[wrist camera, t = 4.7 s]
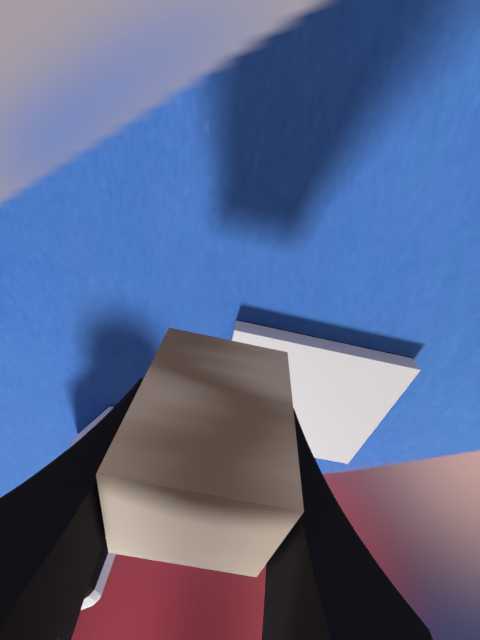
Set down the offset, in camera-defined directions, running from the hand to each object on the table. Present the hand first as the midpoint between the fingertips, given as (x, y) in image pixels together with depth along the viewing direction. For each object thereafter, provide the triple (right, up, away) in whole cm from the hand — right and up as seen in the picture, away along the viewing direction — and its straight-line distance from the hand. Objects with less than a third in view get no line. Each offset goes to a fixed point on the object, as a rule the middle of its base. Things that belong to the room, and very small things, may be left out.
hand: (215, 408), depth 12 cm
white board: (+6, -3, +11) cm, 13 cm away
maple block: (0, +1, +1) cm, 2 cm away
